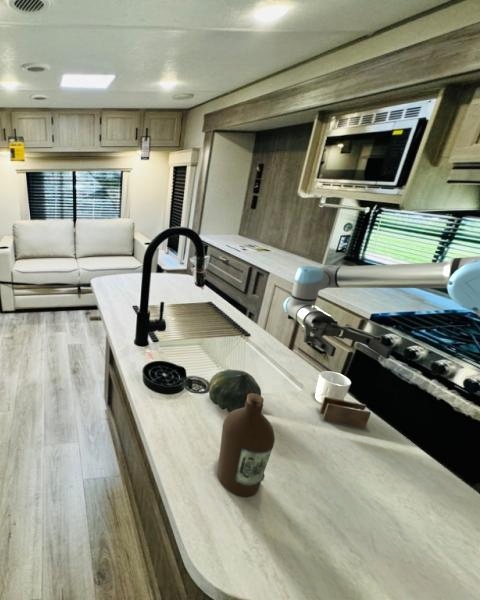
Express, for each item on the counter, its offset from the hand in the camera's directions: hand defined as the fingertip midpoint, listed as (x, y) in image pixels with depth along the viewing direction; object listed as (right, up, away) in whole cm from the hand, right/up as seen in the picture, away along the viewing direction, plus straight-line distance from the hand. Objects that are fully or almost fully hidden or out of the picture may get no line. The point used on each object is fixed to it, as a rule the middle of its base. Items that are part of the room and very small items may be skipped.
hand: (360, 353), depth 84 cm
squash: (-26, -21, +18) cm, 38 cm away
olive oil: (-37, -30, -7) cm, 49 cm away
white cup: (+5, -20, +18) cm, 27 cm away
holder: (+2, -23, +10) cm, 25 cm away
